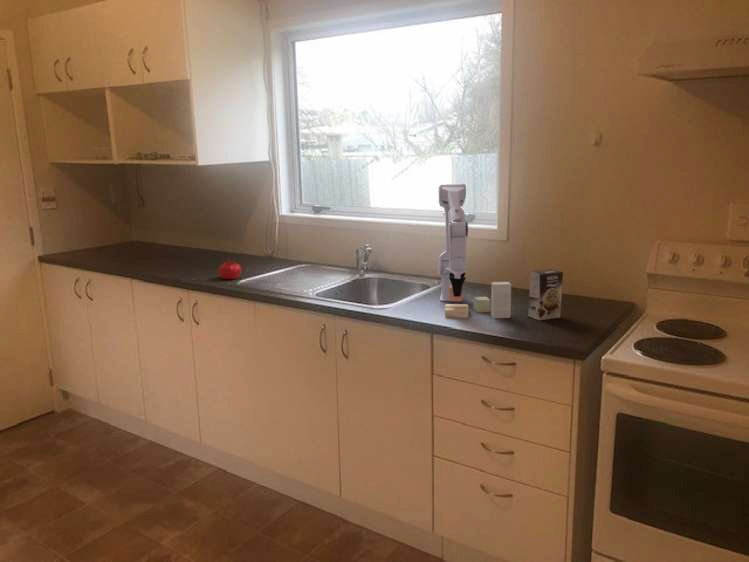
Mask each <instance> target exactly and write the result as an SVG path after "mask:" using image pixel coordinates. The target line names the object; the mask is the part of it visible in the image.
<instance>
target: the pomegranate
mask: <svg viewBox="0 0 749 562" xmlns="http://www.w3.org/2000/svg"><path fill="white" fill-rule="evenodd" d="M218 273H219V277H220V278H221V280H236V279H239V277H240V276H241V274H242V266H241V264H239V263H237V262H236V261H235V260H233V261H231V260H230V258H229V257H227V261H223V264H221V265H220V266H219V268H218Z"/></svg>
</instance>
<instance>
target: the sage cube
mask: <svg viewBox="0 0 749 562" xmlns="http://www.w3.org/2000/svg"><path fill="white" fill-rule="evenodd" d="M473 310H474V311H475V312H477V313H487V312H488V313H491V299H490V298H489V297H487V296H475V297H473Z"/></svg>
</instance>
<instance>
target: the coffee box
mask: <svg viewBox="0 0 749 562" xmlns="http://www.w3.org/2000/svg"><path fill="white" fill-rule="evenodd" d="M563 274H564V272H563V271H560V270H556V269H551V268H550V269H541V270H540V269H539V270H531V271H530V279H529V281H530V282H529V296H528V297H529V298H528V299H529V300H528V317H530V318H532V319H535V320H537V321H545V320H551V319H552V320H553V319H559V318H561V309H562V296H563V295H562V294H563V293H562V292H563V290H562V289H563V278H564V277H563Z"/></svg>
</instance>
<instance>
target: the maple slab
mask: <svg viewBox="0 0 749 562" xmlns="http://www.w3.org/2000/svg"><path fill="white" fill-rule="evenodd" d="M444 306H445V307H444V318H460V319H461V318H463V319H464V318H466V319H469V304H465V303H464V304H462V303H461V304H459V303H452V304H451V303H446V304H445V305H444Z"/></svg>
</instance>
